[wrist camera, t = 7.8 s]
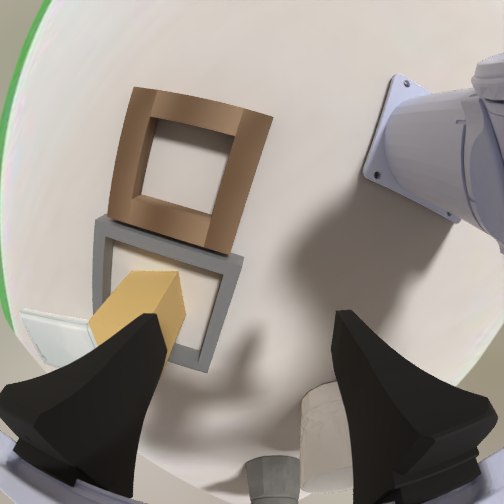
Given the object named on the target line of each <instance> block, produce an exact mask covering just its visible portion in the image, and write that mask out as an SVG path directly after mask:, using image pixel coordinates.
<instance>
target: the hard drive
mask: <svg viewBox="0 0 504 504" xmlns="http://www.w3.org/2000/svg"><path fill="white" fill-rule="evenodd" d="M20 317H21V319H22V321H23V323H24V326H25V328H26V330H27V332H28V334H29V336H30V338H31V340H32V342H33V344H34V346H35V348H36V350H37V351H38V353H39V355H40V357H41V359H42V360H43V362H44V363H46V364H49V365H52V366H55V367H58V368H61V367H63V366H66V365H68V364H70V363H72V362H73V361H75V360H77V359H79V358H81V357H82V356H84V355H86V354H87V353H89V352H90V351H92V350H93V349H95V348H96V347H98V345H97V343H96V341H95V338H94V336H93V334H92V331H91V329H90V326H89V324H88V321H89V320H87V319H81V318H75V317H69V316H63V315H57V314H52V313H47V312H41V311H36V310H32V309H27V308H23V309H22V310H21V311H20Z"/></svg>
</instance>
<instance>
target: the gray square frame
mask: <svg viewBox="0 0 504 504" xmlns="http://www.w3.org/2000/svg"><path fill="white" fill-rule="evenodd" d="M114 240H117V241H120V242H123V243H126V244H129V245H132V246H135V247H138V248H141V249H144V250H147V251H150V252H153V253H156V254H159V255H162V256H165V257H168V258H172V259H175V260H178V261H181V262H184V263H187V264H190V265H194V266H197V267H200V268H203V269H207V270H210V271H213V272H216V273H220V274H223V278H222V282H221V285H220V289H219V292H218V295H217V299H216V302H215V306H214V309H213V312H212V316H211V319H210V323H209V326H208V330H207V333H206V337H205V340H204V344H203V347H202V351H198V350H195V349H192V348H188V347H185V346H182V345H179V344H176V343H174V345H173V348H172V350H171V352H170V355H169V357H168V360H167V361H169V362H172V363H175V364H178V365H181V366H184V367H187V368H191V369H194V370H197V371H201V372H204V373H207V372H208V369H209V366H210V363H211V360H212V357H213V354H214V351H215V348H216V345H217V342H218V339H219V335H220V332H221V329H222V326H223V323H224V320H225V317H226V314H227V311H228V308H229V305H230V302H231V299H232V296H233V293H234V290H235V287H236V284H237V281H238V278H239V274H240V271H241V268H242V265H243V259H244V257H242V256H239V255H236V254H233V253H230V255H228V254H224V253H221V252H218V251H214V250H211V249H208V248H205V247H201V246H198V245H195V244H192V243H188V242H185V241H182V240H179V239H176V238H172V237H169V236H166V235H163V234H160V233H156V232H153V231H150V230H147V229H144V228H140V227H137V226H134V225H131V224H128V223H125V222H121V221H118V220H115V219H112V218H109V217H107V214H105V215H103V216H101V217H99V218H98V219H96V220H95V229H94V244H93V275H92V291H93V315H94V314H95V313H96V311H97V310H98V309H99V308H100V307H101V305H102V304H103V303H104V302H105V301H106V300H107V298H108V297H109V296H110V287H111V267H112V253H113V242H114Z"/></svg>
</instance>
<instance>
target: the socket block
mask: <svg viewBox="0 0 504 504" xmlns="http://www.w3.org/2000/svg"><path fill="white" fill-rule="evenodd" d="M158 118H161V119H166V120H171V121H175V122H180V123H185V124H189V125H193V126H198V127H202V128H206V129H210V130H214V131H218V132H221V133H225V134H229V135H232V136H235V138H234V142H233V145H232V148H231V151H230V155H229V158H228V161H227V165H226V168H225V171H224V175H223V178H222V182H221V185H220V189H219V192H218V196H217V199H216V203H215V206H214V210H213V214H212V215H210V214H207V213H203V212H200V211H197V210H193V209H190V208H186V207H183V206H180V205H176V204H173V203H169V202H166V201H162V200H159V199H155V198H152V197H148V196H145V195H141V192H142V186H143V181H144V176H145V172H146V167H147V162H148V158H149V154H150V149H151V145H152V141H153V137H154V133H155V129H156V126H157V122H158ZM272 120H273V117H271V116H268V115H265V114H262V113H258V112H255V111H251V110H248V109H244V108H240V107H237V106H233V105H229V104H225V103H221V102H217V101H212V100H208V99H203V98H199V97H194V96H189V95H184V94H179V93H173V92H167V91H161V90H154V89H147V88H140V87H134V88H133V91H132V94H131V98H130V101H129V105H128V109H127V112H126V116H125V120H124V124H123V128H122V133H121V137H120V141H119V146H118V151H117V156H116V161H115V166H114V172H113V178H112V184H111V191H110V198H109V205H108V213H107V217H109V218H112V219H115V220H118V221H121V222H125V223H128V224H131V225H134V226H137V227H140V228H144V229H147V230H150V231H153V232H156V233H160V234H163V235H166V236H169V237H172V238H176V239H179V240H182V241H185V242H188V243H192V244H195V245H198V246H201V247H205V248H208V249H211V250H214V251H218V252H221V253H224V254H228V255H230V252H231V249H232V245H233V242H234V239H235V236H236V232H237V229H238V226H239V223H240V219H241V216H242V213H243V210H244V207H245V203H246V200H247V197H248V194H249V191H250V188H251V185H252V181H253V178H254V175H255V172H256V169H257V166H258V163H259V160H260V157H261V154H262V150H263V147H264V144H265V141H266V138H267V135H268V132H269V129H270V126H271V123H272Z"/></svg>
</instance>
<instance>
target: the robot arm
mask: <svg viewBox="0 0 504 504" xmlns="http://www.w3.org/2000/svg"><path fill="white" fill-rule="evenodd" d="M404 81H405V82H406V83H407V87H405V86H404ZM471 81H472V85H473V87H474V88H468V89H461V90H454V91H447V92H441V93H435V94H433V93H431V92H430V91H428V90H427V89H425V88H423V87H422V86H420V85H419V84H417V83H415V82H414V81H412V80H410V79H409V78H407V77H405V76H404V75H402V74H395V75H394V76H393V77H392V81H391V84H390V88H389V91H388V94H387V98H386V101H385V104H384V108H383V111H382V114H381V117H380V120H379V124H378V127H377V130H376V133H375V136H374V139H373V142H372V145H371V147H370V150H369V153H368V156H367V159H366V162H365V164H364V167H363V171H362V172H363V176H364V177H365V178H366V179H369V180H371V181H373V182H375V183H377V184H380V185H382V186H384V187H386V188H388V189H390V190H393V191H395V192H397V193H399V194H401V195H403V196H405V197H407V198H409V199H411V200H413V201H415V202H417V203H419V204H421V205H423V206H424V207H426V208H428V209H430V210H432V211H434V212H436V213H437V214H439V215H441V216H443V217H445V218H446V219H448V220H450V221H452V222H453V223H456V224H457V223H459V222H460V221H461V219H463V220H465V221H466V222H468V223H470V224H472V225H473V226H475V227H477V228H479V229H480V230H482V231H484V232H485V233H487V234H489V235H490V236H492V237H493V238H494V239H496V240H497V242H498V244H499V247H500V252H501V253H502V254H504V53H501V54H498V55H495V56H492V57H489V58H487V59H484V60H482V61H480V62H479V63H478V64H477V67H476V71H475V75H474V76H473V77H472V80H471ZM375 172H378V173H379V176H378V178H374V173H375ZM447 212H449V214H448V215H447ZM167 351H168V350H167V347H166V344H165V340H164V337H163V334H162V331H161V327H160V324H159V320H158V317H157V314H155V313H143V314H141V315H140V316H138V317H137V318H136V319H134V320H133V321H132V322H130V323H129V324H128V325H126V326H125V327H124V328H122V329H121V330H120V331H118V332H117V333H116V334H114V335H113V336H112V337H110V338H109V339H108V340H106V341H105V342H103V343H102V344H100V345H99V346H98V347H96V348H95V349H93V350H92V351H90V352H89V353H87V354H86V355H84V356H82V357H81V358H79V359H77V360H75V361H73V362H72V363H70V364H68V365H66V366H63V367H61V368H59V369H57V370H55V371H52V372H50V373H48V374H45V375H42V376H40V377H36V378H33V379H30V380H27V381H22V382H18V383H13V384H8V385H6V386H5V387H4V389H3V390H2V391H1V393H0V418H1V419H2V420H3V421H4V422H5V423H6V425H7V426H8V427H9V428H10V429H11V430H12V431H13V432H14V433H15V434H16V435H17V436H18V437H19V440H18V441H17V442H16V441H14V440H13V439H12V438H10V437H9V436H8V435H6V434H5V433H3V432H2V431H1V430H0V490H1V491H2V492H3V493H4V494H6V495H7V496H8V497H9V498H10V499H11V500H12V501H13V502H14V503H16V504H147V503H143V502H140V501H136V500H133V499H130V498H132V497H133V481H134V469H135V462H136V454H137V449H138V444H139V438H140V434H141V430H142V425H143V421H144V418H145V415H146V412H147V409H148V406H149V404H150V401H151V399H152V396H153V394H154V391H155V389H156V386H157V384H158V381H159V379H160V376H161V374H162V371H163V367H164V364H165V359H166V355H167ZM331 353H332V360H333V367H334V372H335V376H336V379H337V383H338V387H339V390H340V394H341V397H342V401H343V405H344V408H345V412H346V416H347V421H348V427H349V435H350V443H351V454H352V467H353V504H504V448H502V449H500V450H499V451H497V452H495V453H493V454H492V455H490V456H488V457H487V458H485V459H483V460H482V461H481V462H479V463H477V460H476V457H477V456H478V455H479V451H478V449H477V446H478V445H479V444H480V443H481V441H482V440H483V439H484V438H485V437H486V436H487V435H488V434H489V433H490V432H491V430H492V429H493V428H494V427H495V425H496V423H497V420H498V416H497V414H496V412H495V410H494V408H493V406H492V405H491V403H490V401H489V399H488V398H487V397H484V396H481V395H477V394H474V393H471V392H468V391H465V390H462V389H459V388H457V387H455V386H452V385H450V384H448V383H446V382H444V381H441V380H439V379H438V378H436V377H434V376H432V375H430V374H428V373H427V372H425V371H423V370H422V369H420V368H418V367H417V366H415V365H414V364H412V363H411V362H409V361H408V360H406V359H405V358H404V357H402V356H401V355H400V354H398V353H397V352H396V351H395V350H394V349H392V348H391V347H390V346H389V345H388V344H386V343H385V342H384V341H383V340H382V339H381V338H380V337H378V336H377V335H376V334H375V333H374V332H373V331H372V330H371V329H370V328H369V327H368V326H367V325H366V324H365V323H364V322H363V321H362V320H361V319H360V318H359V317H358V316H357V315H356V314H355V313H354V312H353V311H352V310H341V311H336V316H335V324H334V331H333V339H332V345H331Z"/></svg>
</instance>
